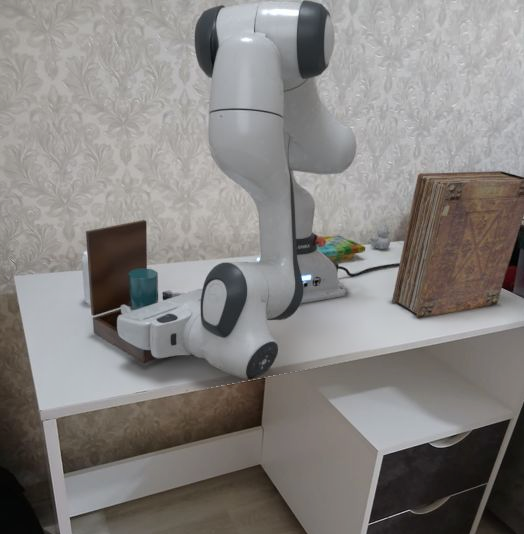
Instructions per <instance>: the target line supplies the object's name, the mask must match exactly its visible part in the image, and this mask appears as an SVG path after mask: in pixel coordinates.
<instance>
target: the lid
mask: <svg viewBox="0 0 524 534" xmlns="http://www.w3.org/2000/svg"><path fill="white" fill-rule="evenodd" d="M147 230H148V229H147V220H145V219H142V220H137V221H132V222H131V221H130V222H126V223H120V224H116V225H110V226H105V227H100V228H95V229H90V230H86V231H85V239H86V251H87V256H88V271H89V286H90V302H91V304H90V314H91V316H93V317H96V316H99V315H102V314H106V313H109V312H112V311H115V310H118V309H121V305H123V304H127V303H129V304H130V294H129V272H130V271H132V270H135V269H148V243H147V242H148V241H147V240H148V239H147V238H148V236H147V235H148V234H147Z"/></svg>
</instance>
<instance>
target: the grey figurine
mask: <svg viewBox="0 0 524 534" xmlns="http://www.w3.org/2000/svg"><path fill="white" fill-rule="evenodd" d="M389 234H390V231H389V228H388V227H387V223H385V224H382V225H381V226H380V227H379V228H378V230H377V235H375V236H371V237H370V240H371V241H370V242H371V243H370V245H371V246H373V247H375V248H377V249H379V250H386V249H388V248H389V247H390V245H391V239H390V237H389V236H390V235H389Z"/></svg>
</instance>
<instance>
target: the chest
mask: <svg viewBox="0 0 524 534" xmlns="http://www.w3.org/2000/svg"><path fill="white" fill-rule="evenodd" d="M121 314H122V313H121V308H118V309H114V310H111V311H108V312H105V313H102V314H99V315H96V316H93V317H92V327H93V333H94V334H95V335H96V336H98V337H100V338H102V339H103V340H105V341H106V342H108V343H109V344H111V345H113V346H114V347H116V348H118V350H119V349H120V350H121V351H122V352H124V353H126V354H127V355H129V356H131V357H132V358H134V359H135V360H137V361H139V362H141V363H142V364H147V363H149V362H151V361H154V360H157V359H158V358H156V357H154V356H152V354H151V350H144V349H140V348H138V347H136V346H134V345H132V344H130V343H129V342H127V341H125V340H124V339H122V338H121V337H120V336H119V334H118V331H117V318H118V316H119V315H121Z"/></svg>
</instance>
